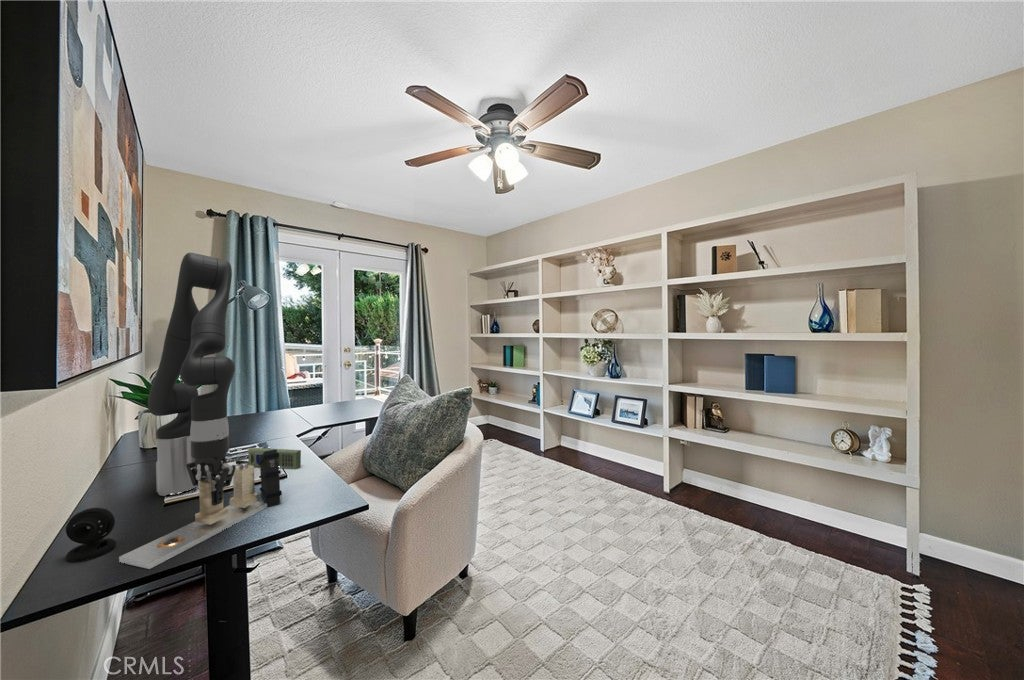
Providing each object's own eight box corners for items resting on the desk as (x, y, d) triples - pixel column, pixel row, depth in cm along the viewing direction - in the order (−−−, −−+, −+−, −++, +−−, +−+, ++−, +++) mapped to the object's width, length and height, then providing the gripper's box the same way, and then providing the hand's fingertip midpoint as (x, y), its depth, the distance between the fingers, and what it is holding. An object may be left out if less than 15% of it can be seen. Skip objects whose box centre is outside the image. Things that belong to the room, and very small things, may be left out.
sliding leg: (195, 523, 94) (194, 478, 94) (213, 515, 98) (212, 472, 98) (210, 526, 93) (209, 480, 92) (228, 517, 97) (227, 473, 97)
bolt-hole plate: (119, 562, 81) (117, 502, 81) (242, 503, 108) (241, 458, 108) (149, 569, 79) (147, 508, 78) (267, 507, 106) (266, 461, 105)
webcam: (55, 566, 80) (54, 520, 79) (79, 547, 86) (77, 504, 86) (105, 557, 83) (103, 512, 82) (124, 539, 90) (122, 498, 89)
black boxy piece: (268, 505, 103) (263, 451, 108) (261, 510, 112) (256, 460, 117) (284, 501, 106) (278, 448, 110) (276, 506, 115) (271, 457, 119)
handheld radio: (295, 470, 134) (232, 467, 137) (302, 467, 137) (240, 464, 140) (296, 451, 134) (232, 448, 137) (302, 449, 137) (240, 446, 140)
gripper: (172, 438, 93) (174, 506, 93) (216, 442, 89) (218, 513, 90) (204, 430, 100) (205, 493, 101) (246, 433, 97) (247, 499, 97)
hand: (211, 502), depth 95 cm, fingers closed on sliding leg, 3 cm apart
